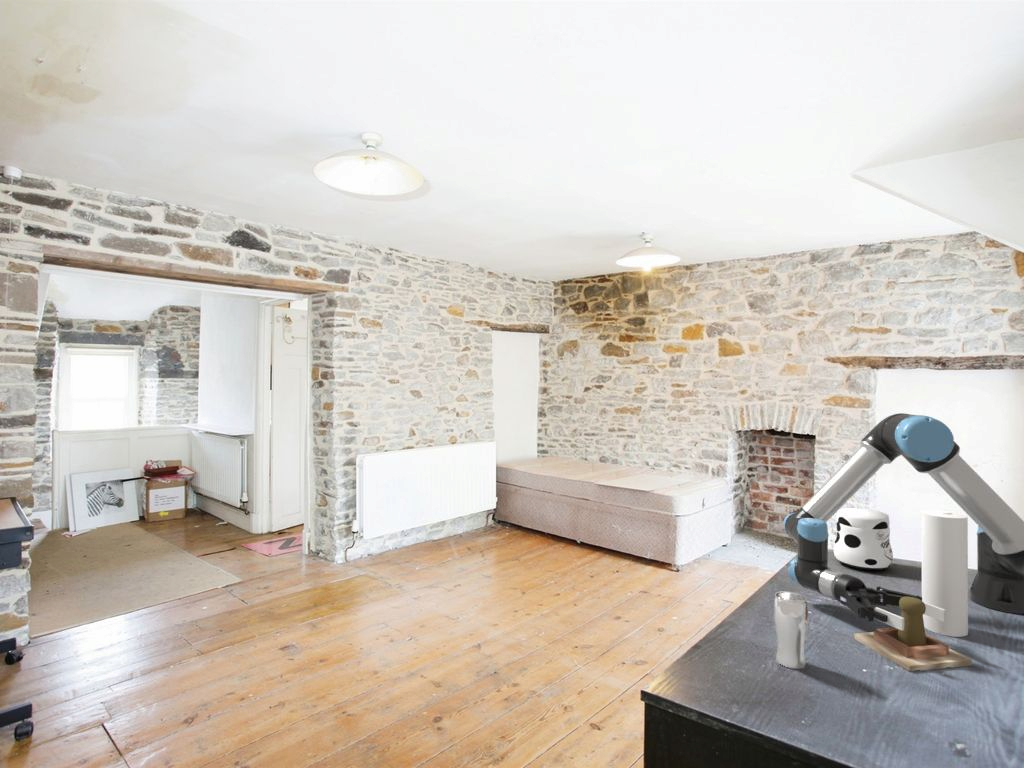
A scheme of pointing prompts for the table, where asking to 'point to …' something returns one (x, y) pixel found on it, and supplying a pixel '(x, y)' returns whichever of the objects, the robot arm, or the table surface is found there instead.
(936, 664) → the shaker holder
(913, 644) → the cork
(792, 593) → the beer glass
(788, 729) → the table surface
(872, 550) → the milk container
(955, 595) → the cylinder container
